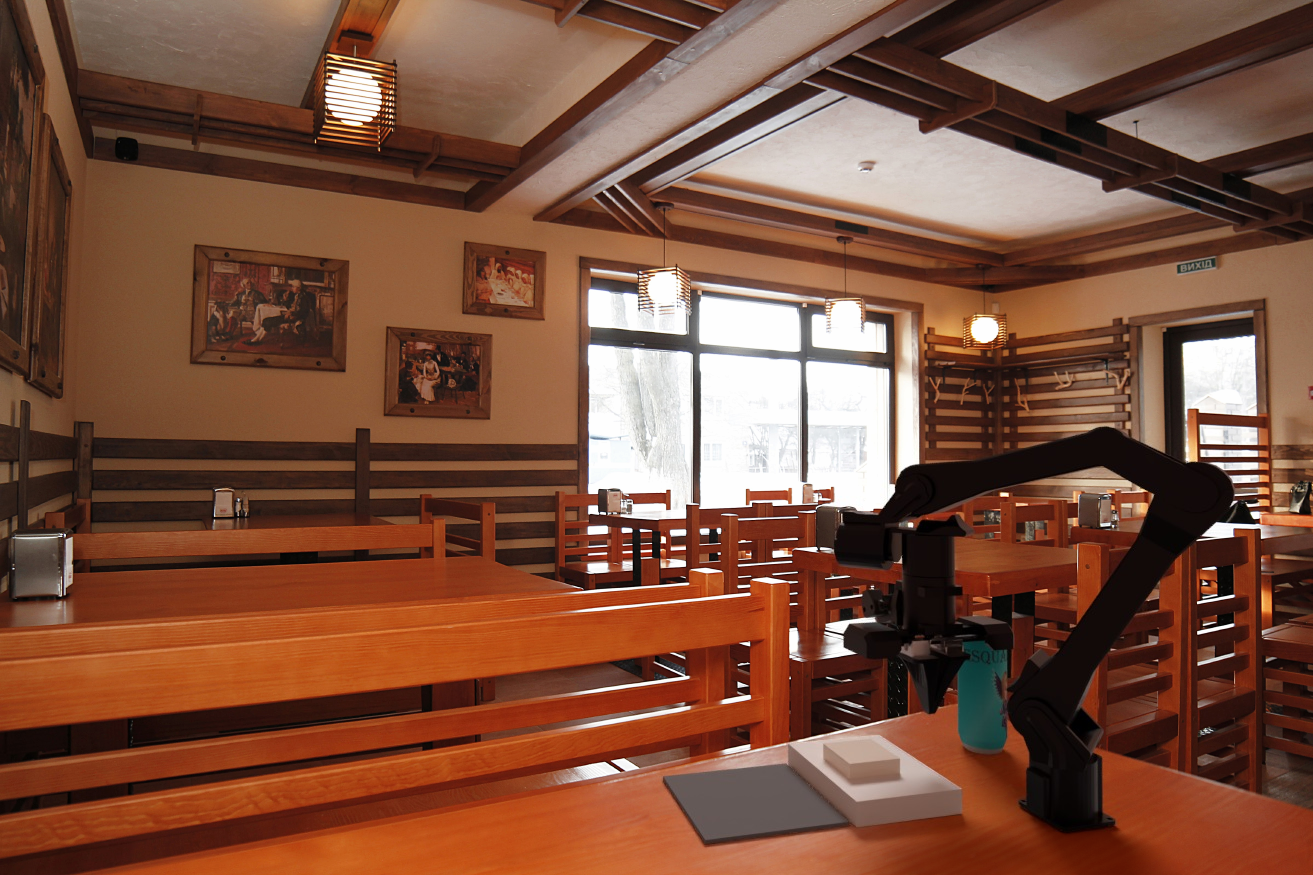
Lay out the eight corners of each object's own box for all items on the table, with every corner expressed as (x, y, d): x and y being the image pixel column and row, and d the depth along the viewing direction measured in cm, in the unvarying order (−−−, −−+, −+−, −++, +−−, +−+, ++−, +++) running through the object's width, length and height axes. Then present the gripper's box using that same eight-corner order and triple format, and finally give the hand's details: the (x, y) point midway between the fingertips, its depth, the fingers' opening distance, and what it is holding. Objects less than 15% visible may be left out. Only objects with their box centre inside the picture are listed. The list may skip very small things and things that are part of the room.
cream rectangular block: (870, 752, 89) (870, 738, 89) (900, 773, 83) (900, 758, 84) (823, 757, 88) (823, 743, 88) (849, 779, 82) (849, 763, 82)
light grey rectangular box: (878, 755, 95) (878, 734, 95) (962, 813, 80) (962, 788, 80) (788, 764, 92) (788, 743, 92) (856, 827, 77) (856, 801, 77)
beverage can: (1003, 760, 94) (1002, 635, 94) (953, 750, 97) (952, 629, 97) (1010, 745, 99) (1010, 626, 99) (963, 736, 102) (962, 620, 102)
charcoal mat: (785, 766, 91) (786, 763, 91) (849, 825, 77) (849, 821, 77) (662, 779, 88) (662, 776, 88) (705, 844, 73) (705, 839, 73)
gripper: (954, 562, 98) (956, 686, 98) (820, 567, 94) (821, 698, 93) (1017, 575, 88) (1018, 714, 87) (868, 581, 83) (869, 729, 82)
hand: (929, 712), depth 88 cm, fingers closed
